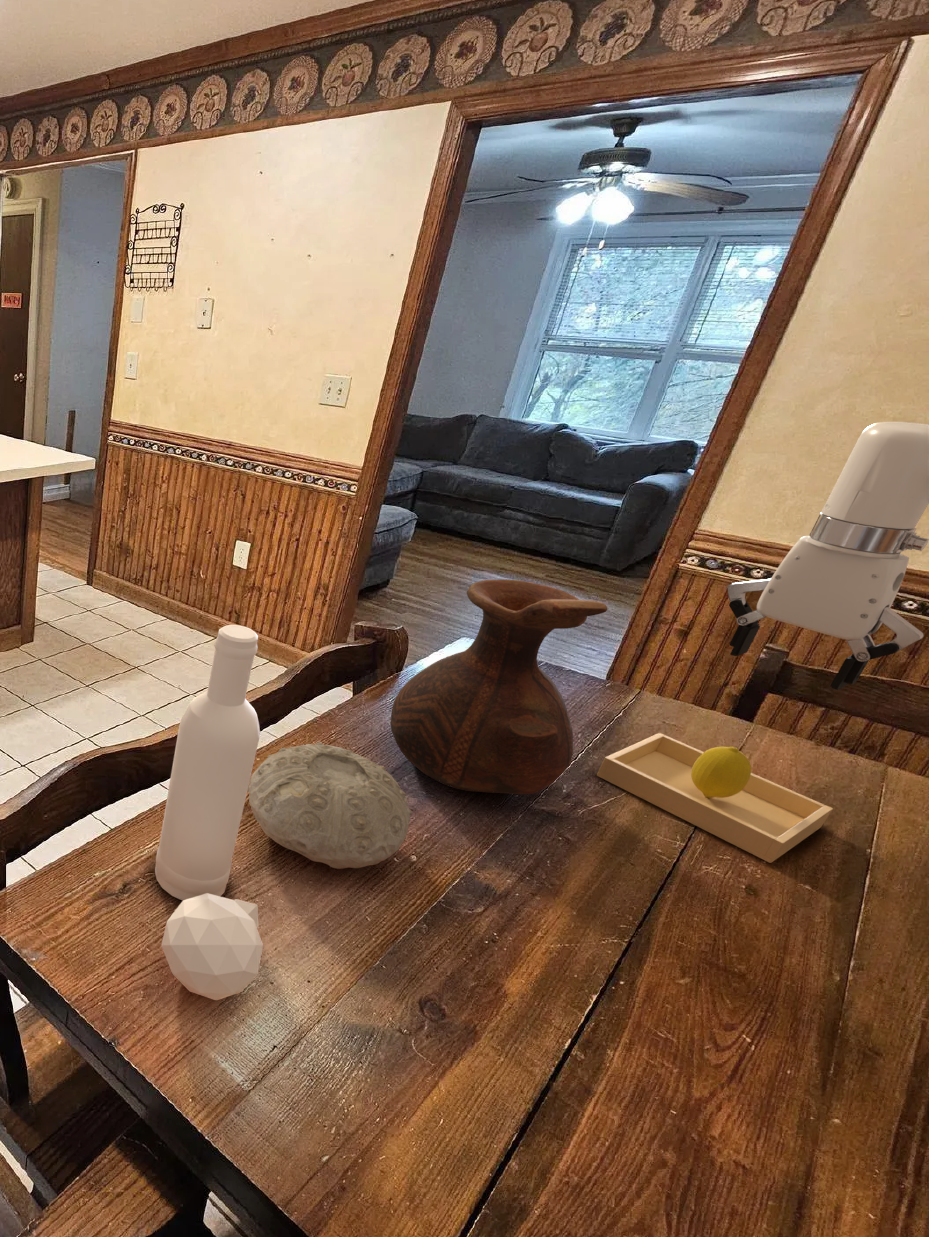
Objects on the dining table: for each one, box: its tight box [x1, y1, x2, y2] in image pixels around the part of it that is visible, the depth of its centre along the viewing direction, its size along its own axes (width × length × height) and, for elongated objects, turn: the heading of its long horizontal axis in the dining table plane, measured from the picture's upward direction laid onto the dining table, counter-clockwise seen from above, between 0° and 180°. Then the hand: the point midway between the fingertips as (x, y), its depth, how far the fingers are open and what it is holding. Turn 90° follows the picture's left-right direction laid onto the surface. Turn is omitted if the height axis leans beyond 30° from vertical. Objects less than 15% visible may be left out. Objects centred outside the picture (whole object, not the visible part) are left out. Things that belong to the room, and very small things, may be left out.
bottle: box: [154, 624, 261, 901], centre depth 76 cm, size 8×8×30 cm
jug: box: [390, 578, 608, 795], centre depth 98 cm, size 22×22×30 cm
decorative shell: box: [247, 741, 413, 870], centre depth 88 cm, size 18×18×10 cm
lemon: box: [691, 746, 752, 798], centre depth 99 cm, size 6×6×8 cm
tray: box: [596, 732, 834, 864], centre depth 100 cm, size 20×16×3 cm
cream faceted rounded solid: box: [160, 893, 264, 1001], centre depth 69 cm, size 9×9×12 cm
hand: (786, 669), depth 92 cm, fingers open, 9 cm apart
